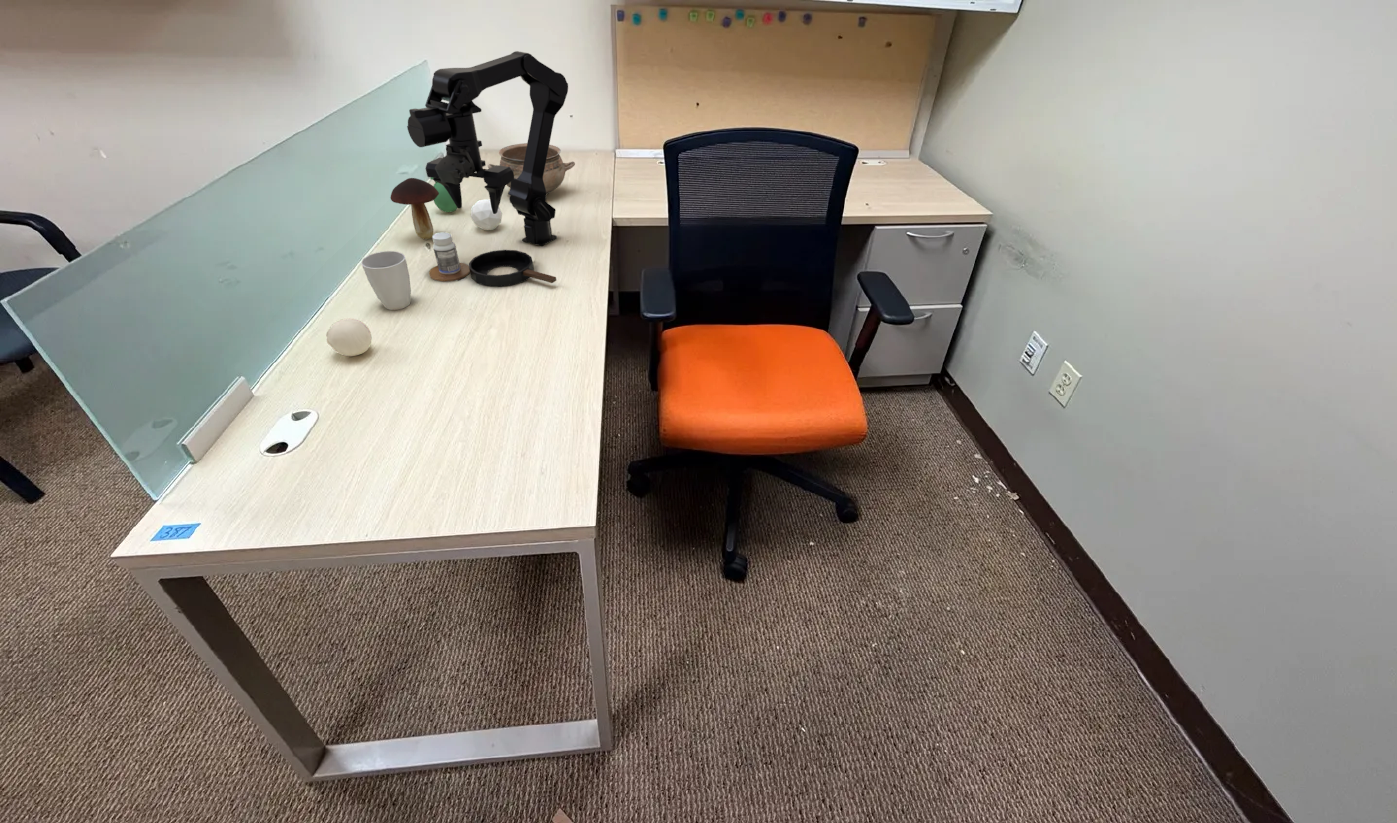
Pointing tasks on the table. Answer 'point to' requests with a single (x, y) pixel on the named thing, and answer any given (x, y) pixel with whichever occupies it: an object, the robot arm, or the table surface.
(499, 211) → the ball
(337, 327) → the cream oval shape
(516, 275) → the pan
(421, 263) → the table surface
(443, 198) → the alien toy
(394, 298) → the cup
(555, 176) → the cooking pot
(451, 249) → the pill bottle
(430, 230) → the decorative mushroom
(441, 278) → the disc
